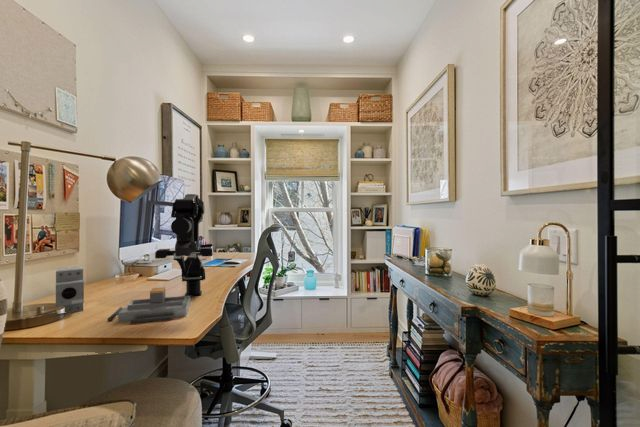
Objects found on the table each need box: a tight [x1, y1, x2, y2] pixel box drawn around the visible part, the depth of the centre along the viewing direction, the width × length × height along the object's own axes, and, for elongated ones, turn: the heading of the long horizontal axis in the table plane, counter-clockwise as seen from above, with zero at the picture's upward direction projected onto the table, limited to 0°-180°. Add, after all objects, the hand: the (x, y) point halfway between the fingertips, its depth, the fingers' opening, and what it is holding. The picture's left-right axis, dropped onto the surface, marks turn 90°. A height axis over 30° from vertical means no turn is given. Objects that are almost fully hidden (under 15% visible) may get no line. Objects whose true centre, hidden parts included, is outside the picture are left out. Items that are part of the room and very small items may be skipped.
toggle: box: [149, 286, 166, 303], centre depth 110 cm, size 5×4×5 cm
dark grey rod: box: [107, 306, 124, 322], centre depth 107 cm, size 12×1×1 cm, turn 18°
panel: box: [117, 295, 191, 323], centre depth 110 cm, size 16×20×4 cm
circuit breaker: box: [55, 266, 85, 314], centre depth 111 cm, size 8×14×15 cm, turn 39°
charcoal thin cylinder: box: [129, 316, 173, 325], centre depth 100 cm, size 12×1×1 cm, turn 108°
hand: (185, 276), depth 113 cm, fingers closed
